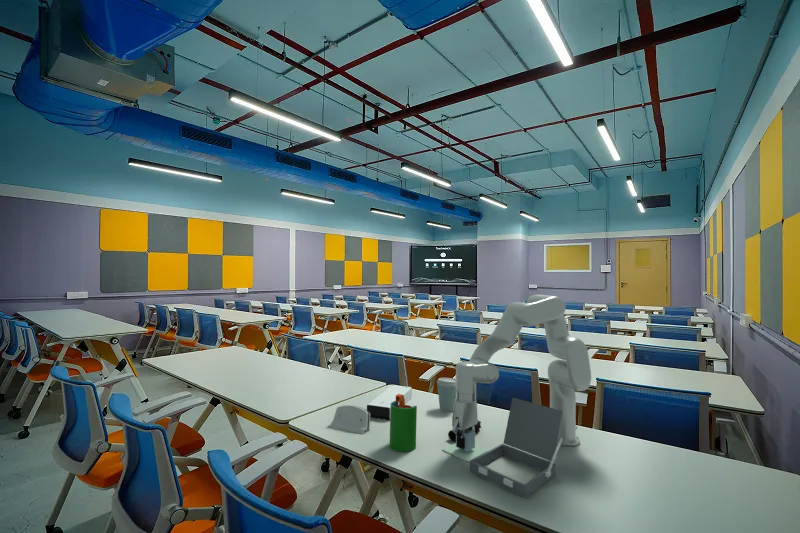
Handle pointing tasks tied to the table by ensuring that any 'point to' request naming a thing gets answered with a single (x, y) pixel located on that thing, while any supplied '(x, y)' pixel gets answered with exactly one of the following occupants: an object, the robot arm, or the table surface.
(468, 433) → the module
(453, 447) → the mat
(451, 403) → the disposable coffee cup
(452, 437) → the brown rough-headed cylinder
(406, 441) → the motor
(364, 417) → the hinge
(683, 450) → the table surface
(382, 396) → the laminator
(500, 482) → the case
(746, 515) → the table surface
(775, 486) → the table surface
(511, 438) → the lid
